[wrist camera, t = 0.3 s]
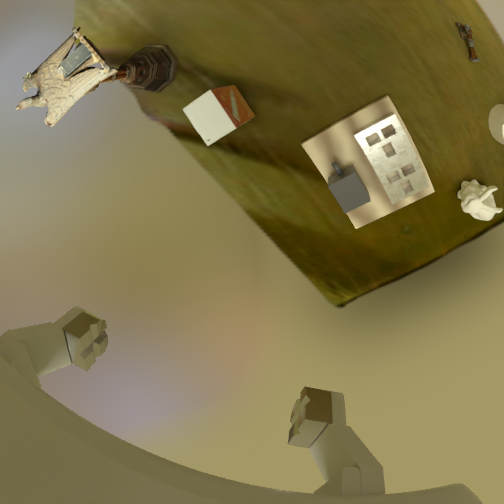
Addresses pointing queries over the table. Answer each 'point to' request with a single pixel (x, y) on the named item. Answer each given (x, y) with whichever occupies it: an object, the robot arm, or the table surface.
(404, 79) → the table surface
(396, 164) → the socket
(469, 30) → the wooden post with brackets
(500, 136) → the cylinder with rectangular tab
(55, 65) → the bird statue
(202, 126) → the small box
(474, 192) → the rabbit
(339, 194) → the plug
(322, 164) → the board
